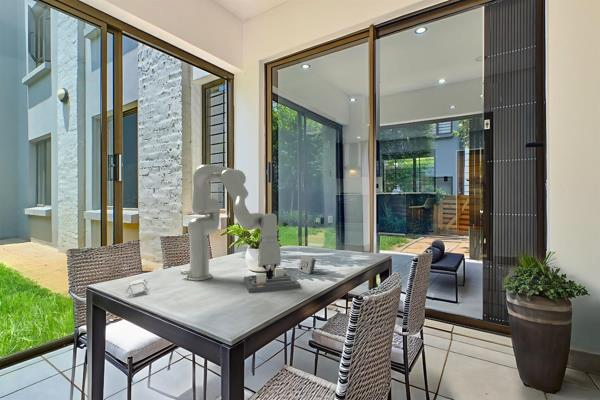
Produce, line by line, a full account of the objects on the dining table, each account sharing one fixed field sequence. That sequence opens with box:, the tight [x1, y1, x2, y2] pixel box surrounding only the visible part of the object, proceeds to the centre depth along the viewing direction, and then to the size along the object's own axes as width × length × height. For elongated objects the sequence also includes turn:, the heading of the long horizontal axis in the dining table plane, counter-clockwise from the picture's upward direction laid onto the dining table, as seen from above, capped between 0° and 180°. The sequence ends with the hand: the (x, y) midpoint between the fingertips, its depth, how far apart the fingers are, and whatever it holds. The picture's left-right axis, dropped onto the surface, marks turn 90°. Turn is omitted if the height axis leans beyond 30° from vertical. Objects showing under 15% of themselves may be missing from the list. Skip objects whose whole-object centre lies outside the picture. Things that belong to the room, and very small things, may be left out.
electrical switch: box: [298, 254, 317, 275], centre depth 175 cm, size 9×5×9 cm, turn 41°
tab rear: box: [274, 266, 285, 277], centre depth 157 cm, size 4×3×4 cm
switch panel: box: [243, 272, 301, 294], centre depth 151 cm, size 24×20×3 cm
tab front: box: [255, 272, 266, 283], centre depth 145 cm, size 4×3×4 cm
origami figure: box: [125, 278, 148, 296], centre depth 139 cm, size 12×8×5 cm
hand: (269, 278), depth 146 cm, fingers closed
